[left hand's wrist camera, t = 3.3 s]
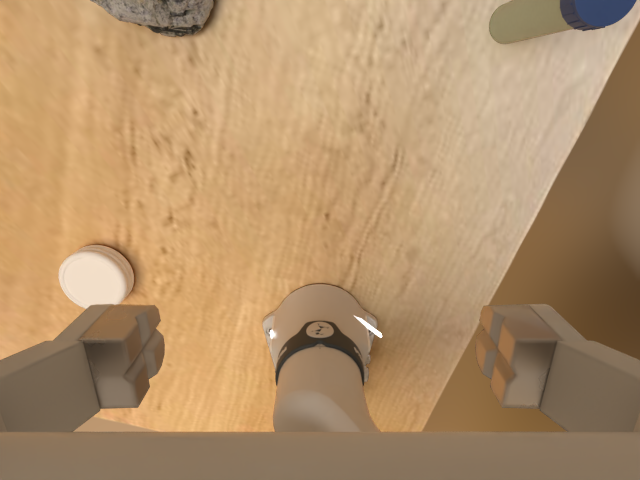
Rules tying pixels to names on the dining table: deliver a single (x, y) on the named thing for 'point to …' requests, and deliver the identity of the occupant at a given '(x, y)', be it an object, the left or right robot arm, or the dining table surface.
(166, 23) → the rock
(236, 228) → the dining table surface
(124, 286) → the white round tin
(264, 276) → the dining table surface
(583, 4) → the lid
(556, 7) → the green bottle
